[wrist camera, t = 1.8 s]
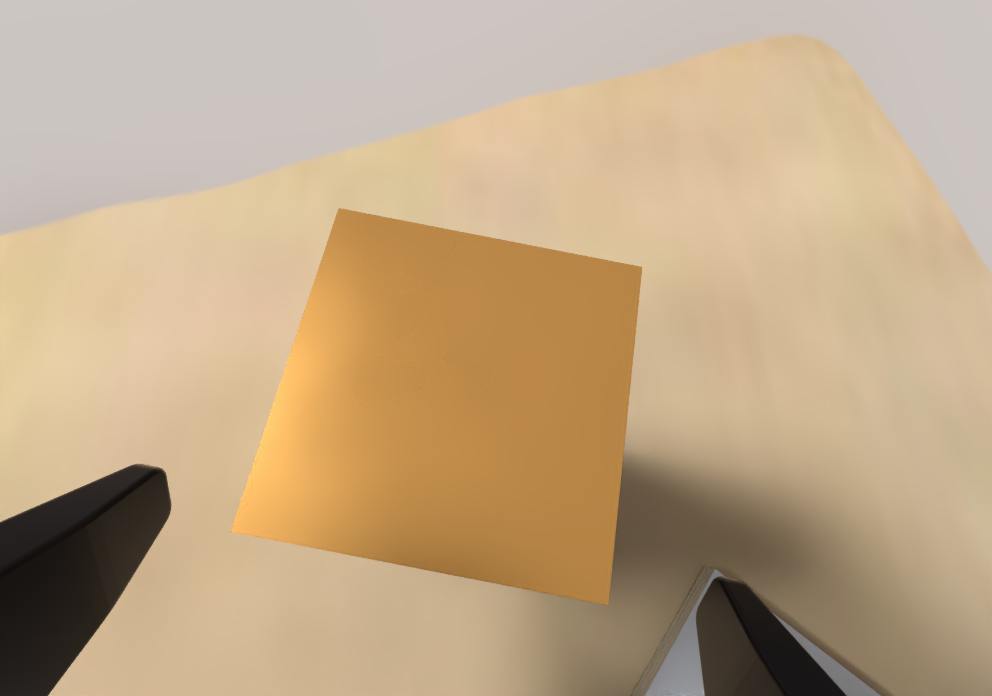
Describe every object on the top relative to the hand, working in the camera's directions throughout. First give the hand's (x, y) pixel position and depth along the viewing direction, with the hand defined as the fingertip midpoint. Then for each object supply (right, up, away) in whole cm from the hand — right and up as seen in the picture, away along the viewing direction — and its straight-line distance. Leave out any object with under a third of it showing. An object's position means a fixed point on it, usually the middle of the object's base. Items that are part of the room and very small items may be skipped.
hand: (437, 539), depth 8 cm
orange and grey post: (0, -1, +10) cm, 10 cm away
